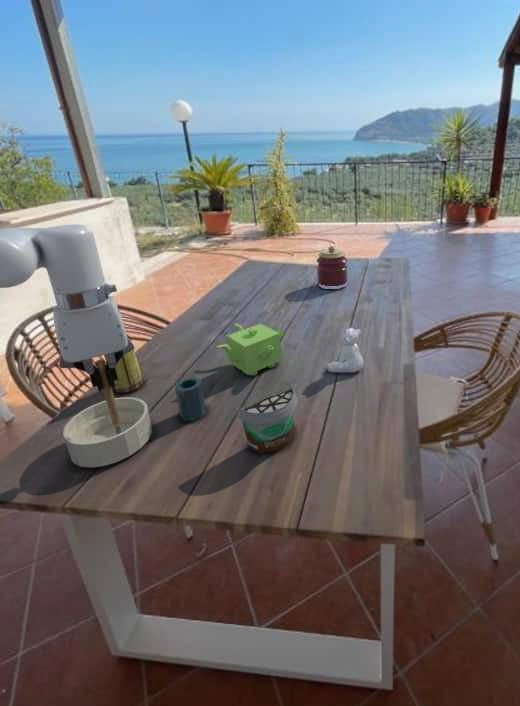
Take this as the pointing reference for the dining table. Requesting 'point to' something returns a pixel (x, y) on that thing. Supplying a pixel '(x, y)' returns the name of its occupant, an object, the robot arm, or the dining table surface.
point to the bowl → (107, 433)
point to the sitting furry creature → (348, 354)
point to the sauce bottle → (127, 373)
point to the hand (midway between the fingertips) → (106, 385)
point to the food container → (269, 422)
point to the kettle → (253, 348)
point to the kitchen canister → (332, 267)
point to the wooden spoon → (108, 395)
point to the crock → (190, 399)
